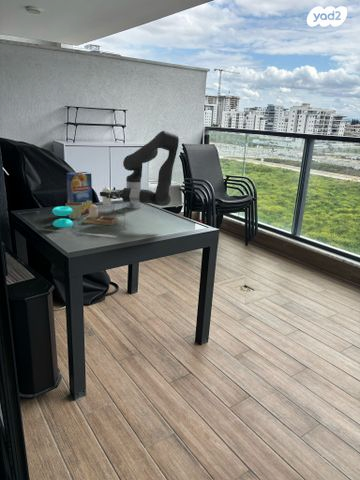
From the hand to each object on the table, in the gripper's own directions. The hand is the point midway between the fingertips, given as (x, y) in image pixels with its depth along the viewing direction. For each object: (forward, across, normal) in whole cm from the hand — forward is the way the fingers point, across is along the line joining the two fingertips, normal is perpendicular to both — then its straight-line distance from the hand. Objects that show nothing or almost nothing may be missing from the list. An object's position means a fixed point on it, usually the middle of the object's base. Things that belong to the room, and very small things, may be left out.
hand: (101, 193), depth 197 cm
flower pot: (+18, -5, +17) cm, 26 cm away
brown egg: (+5, 0, +16) cm, 17 cm away
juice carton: (+20, -17, +17) cm, 31 cm away
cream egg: (-3, 0, +6) cm, 7 cm away
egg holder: (+1, 0, +17) cm, 17 cm away
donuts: (+17, +11, +17) cm, 27 cm away
